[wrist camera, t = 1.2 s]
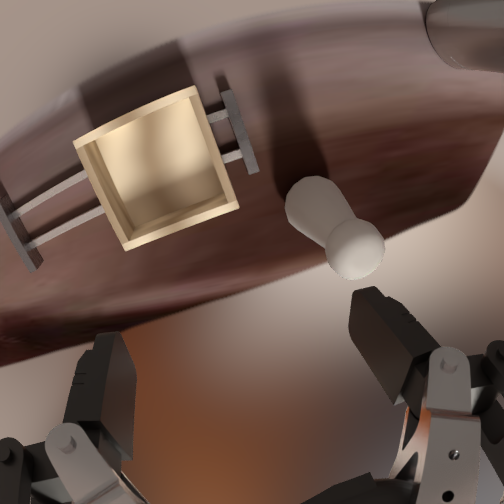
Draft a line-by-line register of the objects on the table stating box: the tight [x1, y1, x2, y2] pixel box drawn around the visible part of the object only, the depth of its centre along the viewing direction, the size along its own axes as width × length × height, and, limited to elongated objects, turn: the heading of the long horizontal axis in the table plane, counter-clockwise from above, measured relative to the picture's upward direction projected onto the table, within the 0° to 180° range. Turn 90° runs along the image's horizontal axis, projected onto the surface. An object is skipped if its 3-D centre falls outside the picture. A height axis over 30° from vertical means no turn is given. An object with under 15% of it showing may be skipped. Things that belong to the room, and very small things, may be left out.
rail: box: [0, 89, 259, 273], centre depth 27 cm, size 28×9×2 cm, turn 108°
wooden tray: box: [73, 85, 239, 251], centre depth 25 cm, size 10×10×5 cm
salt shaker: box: [285, 176, 385, 280], centre depth 26 cm, size 6×6×13 cm
